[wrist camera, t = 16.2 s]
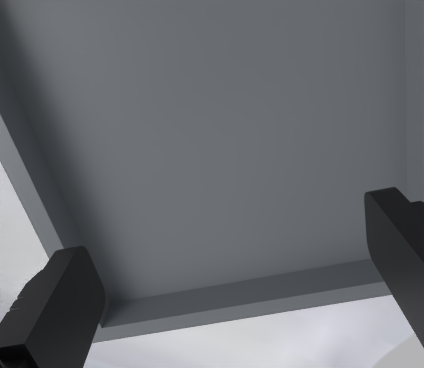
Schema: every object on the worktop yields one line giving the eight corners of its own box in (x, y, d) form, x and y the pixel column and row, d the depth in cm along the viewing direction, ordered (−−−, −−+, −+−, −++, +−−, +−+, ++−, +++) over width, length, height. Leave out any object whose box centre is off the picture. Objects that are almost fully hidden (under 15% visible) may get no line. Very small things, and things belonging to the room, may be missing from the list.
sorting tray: (-50, -32, 17) (-99, -37, 14) (418, -163, 15) (462, -198, 12) (104, 306, 25) (91, 343, 23) (417, 252, 23) (443, 286, 21)
